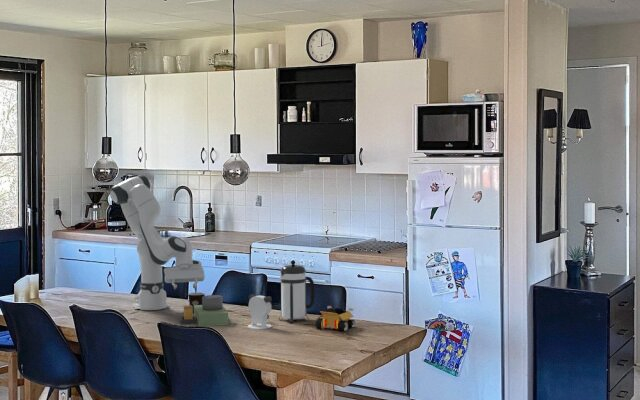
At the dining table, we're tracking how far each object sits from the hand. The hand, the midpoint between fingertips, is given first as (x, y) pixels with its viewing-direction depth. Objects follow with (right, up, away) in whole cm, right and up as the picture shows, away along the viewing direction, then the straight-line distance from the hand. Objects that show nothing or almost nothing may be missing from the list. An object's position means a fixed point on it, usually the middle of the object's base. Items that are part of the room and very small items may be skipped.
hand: (184, 287), depth 423 cm
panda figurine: (+39, -17, -22) cm, 48 cm away
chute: (+3, -16, -10) cm, 19 cm away
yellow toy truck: (+76, -17, -27) cm, 82 cm away
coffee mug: (+5, -15, +14) cm, 21 cm away
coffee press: (+56, -15, -6) cm, 58 cm away
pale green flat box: (+10, -16, -8) cm, 20 cm away
